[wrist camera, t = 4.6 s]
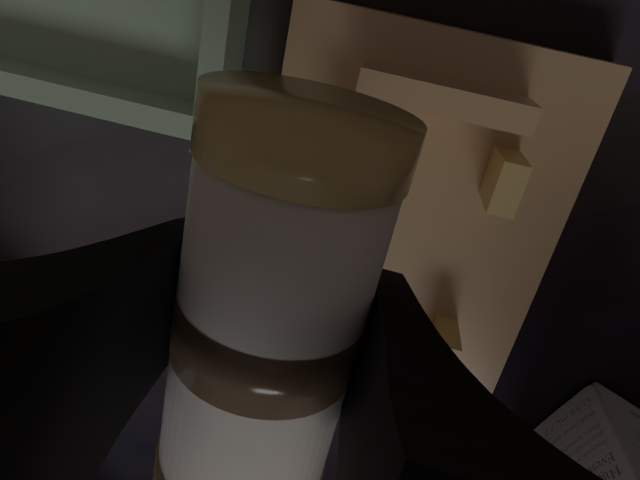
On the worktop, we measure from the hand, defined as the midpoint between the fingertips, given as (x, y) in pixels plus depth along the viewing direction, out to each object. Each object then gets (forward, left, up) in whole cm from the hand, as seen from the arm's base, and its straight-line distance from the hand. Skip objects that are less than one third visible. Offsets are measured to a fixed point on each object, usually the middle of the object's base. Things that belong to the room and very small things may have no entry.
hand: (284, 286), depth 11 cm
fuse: (0, 0, 0) cm, 0 cm away
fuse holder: (-2, -3, -9) cm, 10 cm away
